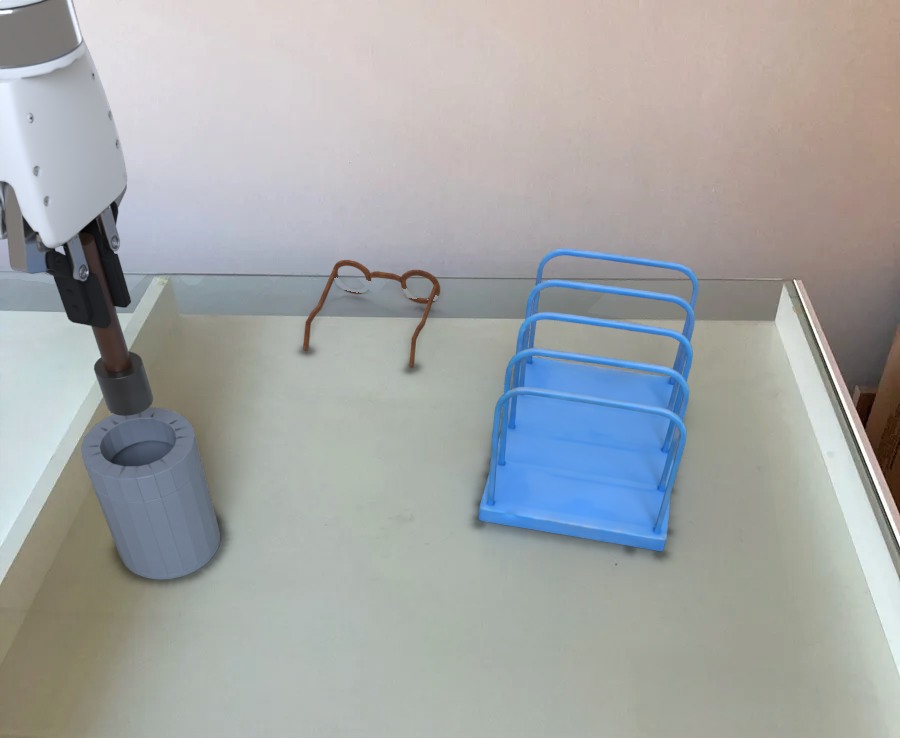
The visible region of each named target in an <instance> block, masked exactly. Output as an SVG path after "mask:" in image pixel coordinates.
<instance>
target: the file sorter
mask: <svg viewBox="0 0 900 738" xmlns="http://www.w3.org/2000/svg"><path fill="white" fill-rule="evenodd" d="M560 256H561V257H562V256H569V257H576V258H585V259H592V260H600V261H601V260H602V261H608V262H615V263H621V264H622V263H624V264H631V265H638V266H645V267H654V268H661V269H667V270H673V271H678V272H681V273H683V274H684V275H686V276H687V277H688V278H689V279H690V281H691V283H692V291H691V292H692V293H691V297H690V302H688V301H687V300H686V299H685V298H683V297H681V296H679V295H675V294H671V293H670V294H669V293H663V292H656V291H649V290H642V289H636V288H629V287H620V286H612V285H606V284H598V283H589V282H583V281H574V280H566V279H557V278H556V279H547V280H544V281H542V279H543V271H544V268H545V266H546V264H547V263H548V262H549V261H550V260H551V259H554V258H556V257H560ZM699 285H700V284H699V280H698V277H697V275H696V274H695V272H694V271H693V270H692V269H691V268H690V267H688V266H687V265H685V264H682V263H679V262H674V261H668V260H661V259H660V260H659V259H654V258H653V259H652V258H646V257H639V256H630V255H623V254H616V253H608V252H602V251H600V252H599V251H592V250H584V249H577V248H564V247H563V248H556V249H554V250H551V251H549V252H547V254H546V255H544V256H543V257H542V259H541V260H540V262H539V264H538V267H537V272H536V278H535V286H534V287H533V289H531V291H530V293H529V295H528V298H527V301H526V307H525V308H526V309H525V316H524V317H525V318H524V320H523V322H522V323H521V325H520V327H519V330H518V334H517V339H516V346H515V347H516V349H515V354H514V355H513V356H512V357H511V358H510V360H508V364H507V366H506V369H505V376H504V383H503V385H504V386H503V394H502V395H501V396H500V397H499V398H498V400H497V402H496V404H495V407H494V414H493V422H492V423H493V424H492V433H491V449H490V462H489V471H488V476H487V479H486V482H485V487H484V489H483V493H482V496H481V500H480V503H479V508H478V516H477V517H478V520H479V521H481V522H486V523H493V524H497V525H504V526H509V527H515V528H522V529H528V530H533V531H534V530H535V531H541V532H545V533H552V534H559V535H563V536H570V537H575V538H581V539H586V540H587V539H588V540H593V541H598V542H604V543H605V542H606V543H611V544H616V545H623V546H629V547H635V548H638V549H639V548H640V549H645V550H651V551H657V552H663V551H664V550H665V547H666V542H667V539H668V529H669V519H670V509H671V508H670V507H671V496H672V492H673V489H674V485H675V482H676V478H677V475H678V471H679V468H680V465H681V461H682V457H683V454H684V449H685V446H686V441H687V427H686V424H685V423H684V419H685V415H686V412H687V408H688V403H689V400H690V399H689V398H690V387H689V383H688V380H689V376H690V371H691V368H692V363H693V358H694V352H693V351H694V350H693V345H692V344H691V342H692V337H693V333H694V329H695V325H696V324H695V323H696V314H695V307H696V303H697V298H698V294H699ZM554 287H555V288H563V289H564V288H565V289H572V290H580V291H588V292H596V293H603V294H604V293H605V294H610V295H611V294H612V295H617V296H618V295H619V296H626V297H635V298H640V299H647V300H648V299H649V300H654V301H655V300H656V301H662V302H667V303H673V304H675V305H678V306H680V307H681V308H682V309H684V311H686V313H687V314H686V317H685V320H684V325H683V328H682V332H679V331H678V330H675V329H671V328H666V327H660V326H654V325H645V324H640V323H632V322H626V321H619V320H612V319H606V318H598V317H591V316H583V315H576V314H570V313H569V314H568V313H562V312H554V311H540V312H538V310H539V303H540V295H541V291H542V290H545V289H548V288H554ZM542 320H543V321H544V320H549V321H557V322H564V323H565V322H566V323H573V324H582V325H588V326H595V327H601V328H604V327H605V328H609V329H617V330H624V331H628V332H638V333H644V334H650V335H656V336H663V337H668V338H671V339H674V340H676V341H678V342H679V344H678V348H677V351H676V355H675V359H674V362H673V366H672V368H671V367H669V366H666V365H665V366H664V365H659V364H653V363H647V362H640V361H634V360H627V359H621V358H615V357H606V356H600V355H593V354H587V353H580V352H579V353H578V352H572V351H566V350H565V351H564V350H558V349H551V348H541V347H534V345H535V337H536V328H537V322H539V321H542ZM548 358H552V359H548ZM558 359H559V360H558ZM571 361H573V362H571ZM577 362H581V363H577ZM584 363H586V364H584ZM591 364H594V365H591ZM597 365H603V366H597ZM604 366H610V367H604ZM612 367H614V368H612ZM618 368H621V369H618ZM622 368H623V369H622ZM625 369H629V370H625ZM631 370H636V371H631ZM637 371H642V372H637ZM644 372H648V373H644ZM652 373H654V374H652ZM659 374H660V375H659ZM512 375H513V378H512ZM664 375H665V376H664ZM511 384H512V388H511Z"/></svg>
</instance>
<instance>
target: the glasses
mask: <svg viewBox="0 0 900 738" xmlns="http://www.w3.org/2000/svg"><path fill="white" fill-rule="evenodd" d="M342 267H353V268H356V269H358V270H359V271H360V272H361V273H363V275H364V277H365V281H366V280H368V281H371V282H372V278H380V279H384V280H385V279H386V280H391V281H396V282H399V283H400V287H401V289H402V288H403V289H406V288H407V289H408V285H407V280H408V279H409V278H411V277H416V276H417V277H423V278H425V279H427V280H429V282H431V283H432V285H433V286H432V290H431V292H430V294H429V297H425V298H424V297H419V298H417V299H412V298H408V300H409V301H411V302H414V303H416V304H421V305H426V306H425V308H424V312H423V315H422V317H421V321H420V322H419V324H417V326H416V328H415V330H414V332H413V334H412V336H411V342H410V353H409V363H408V366H409V367H410V368H411V369H412V368H413V369H414V367H415V358H416V347H417V340H418V337H419V336H420V333H421V332H422V330H423V329H424V327H425V325H426V322H427V320H428V316H429V314H430V311H431V308H432V305H433V303H435V302H436V301H433V299H434V297H435V295H437V296H439V297H440V293H441V285H440V281H438V279H437V277H436V276H435V275H433V274H432V273H430V272H428V271H426V270H421V269H411V270H408V271H405V272H404V273H403V274H401V276H400V275H398V274H396V273H394V272H393V273H392V272H386V271H379V270H378V271H377V270H376V271H372V272H371V271H370V270H369V269H368V268H367V267H366V266H365V265H364V264H362V263H360V262H358V261H355V260H351V259H341V260H338V261H337V262H336V263H335V264H334V266H333V268H332V270H331V273H330V275H329V277H328V280H327V282H326V284H325V287H324V289H323V291H322V293H321V296H320V297H319V298H320V299H319V301H318V303H317V305H315V307H314V308H313V310H311V312H310V313H309V315H308V317H307V319H306V320H305V326H304V333H303V334H304V336H303V344H302V350H303V351H305V352H308V351H309V345H310V337H311V327H312V323H313V321H314V320H315V318H316V316H317V315H318V314H319V313H320V311H322V309H323V308H324V304H325V302H326V300H327V298H328V295H329V292H330V290H331V287H332V285H333V283H334V282H335V281H334V278H336V277H337V278H338V277H339V269H340V268H342ZM339 278H340V277H339ZM343 291H344V292H346V293H349V294H353V295H362V293H359V292H358V293H356V292H351V291H347V290H343ZM427 298H429V300H427Z"/></svg>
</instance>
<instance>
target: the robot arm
mask: <svg viewBox="0 0 900 738" xmlns="http://www.w3.org/2000/svg"><path fill="white" fill-rule="evenodd" d="M101 80H102V79H101V78H100V74H99V72H98V69H97V66H96V65H95V62H94V60H93V57H92V54H91V52H90V50H89V47H88V45H87V43H86V41H85V39H84V37H83V34H82V30H81V27H80V23H79V19H78V15H77V11H76V7H75V4H74V0H0V240H7V250H8V258H9V265H10V268H11V269H12V271H15V272H21V273H26V274H32V275H33V274H40V273H45V275H47V276H52V277H53V280H54V283H55V285H56V288H57V291H58V295H59V297H60V299H61V302H62V305H63V308H64V312H65V314H66V317H67V319H68V320H69V321H70V322H72V323H74V324H78V325H83V326H88V327H89V326H90V327H91V326H94V327H99V328H104V329H106V328H107V327H108V326H109V325H110V324H111V317H110V314H109V311H108V308H107V304H106V301H105V298H104V295H103V292H102V288H101V285H100V282H99V279H98V276H97V274H94V273H89V268H88V265H87V261H86V258H85V255H84V252H83V248H82V245H81V242H80V239H79V236H78V233H89V234H91V235H92V236H93V237H94V239H95V243H96V246H97V249H98V253H99V256H100V259H101V263H102V266H103V269H104V273H105V276H106V279H107V282H108V286H109V289H110V292H111V296H112V299H113V302H114V306H115V308H116V307H117V308H123V309H126V308H128V307H129V305H131V303H132V299H131V296H130V292H129V289H128V285H127V281H126V278H125V275H124V271H123V267H122V264H121V261H120V256H119V254H118V253H117V252H118V250H119V249H120V246H121V238H120V234H119V232H118V229H117V222H118V218H119V217H118V216H119V207H120V206H121V203H122V202H123V201H122V200H123V199H124V196H125V194H126V193H127V189H128V172H127V165H126V161H125V156H124V155H125V154H124V152H123V147H122V143H121V139H120V136H119V132H118V129H117V125H116V122H115V119H114V116H113V112H112V109H111V106H110V103H109V100H108V97H107V94H106V92H105V89H104V85H103V83H102V81H101ZM59 247H62V249H63V252H64V253H62V252H60V251H57V250H56V249H57V248H59ZM115 252H116V253H115Z"/></svg>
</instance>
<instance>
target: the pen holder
mask: <svg viewBox="0 0 900 738" xmlns="http://www.w3.org/2000/svg"><path fill="white" fill-rule="evenodd" d="M80 453H81V459H82V462H83V465H84V466H85V470H86V472H87V475H88V478H89V480H90V483H91V486H92V488H93V490H94V493H95V496H96V498H97V500H98V503H99V506H100V508H101V511H102V513H103V517H104V519H105V521H106V524H107V527H108V529H109V532H110V534H111V537H112V539H113V543H114V545H115V548H116V550H117V552H118V555H119V557H120V559H121V561H122V563H123V564H124V566H125V567H126V568H127V569H128V570H130V572H132V573H133V574H135V575H138V576H140V577H142V578H145V579H151V580H172V579H178V578H182V577H185V576H187V575H190V574H192V573H194V572H196V571H199V570H200V569H201V568H203V567H204V566H205V565H207V564H208V563H209V562H210V561H211V559H213V557H214V556H215V554H216V553H217V551H218V550H219V546H220V543H221V532H220V529H219V525H218V520H217V515H216V513H215V509H214V506H213V505H214V504H213V501H212V497H211V493H210V490H209V486H208V485H209V484H208V481H207V477H206V472H205V469H204V466H203V461H202V458H201V453H200V450H199V445H198V441H197V437H196V434H195V430H194V426H193V425H192V424H191V422H190V421H189V420H188V419H187V418H186V417H185V416H183V415H182V414H180V413H178V412H177V411H174V410H171V409H166V408H162V407H155V406H154V407H153V406H150V407H149V408H147V409H146V410H145V411H143V412H141V413H138V414H135V415H129V416H121V415H116V414H113V413H112V414H111V415H108V416H106V417H105V418H103V419H102V420H100V421H99V422H97V423H96V424H94V425H93V426H92V427H91V429H90V430H89V431H88V432H87V433H86V434H85V436H84V438H83V441H82V443H81V446H80Z"/></svg>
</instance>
